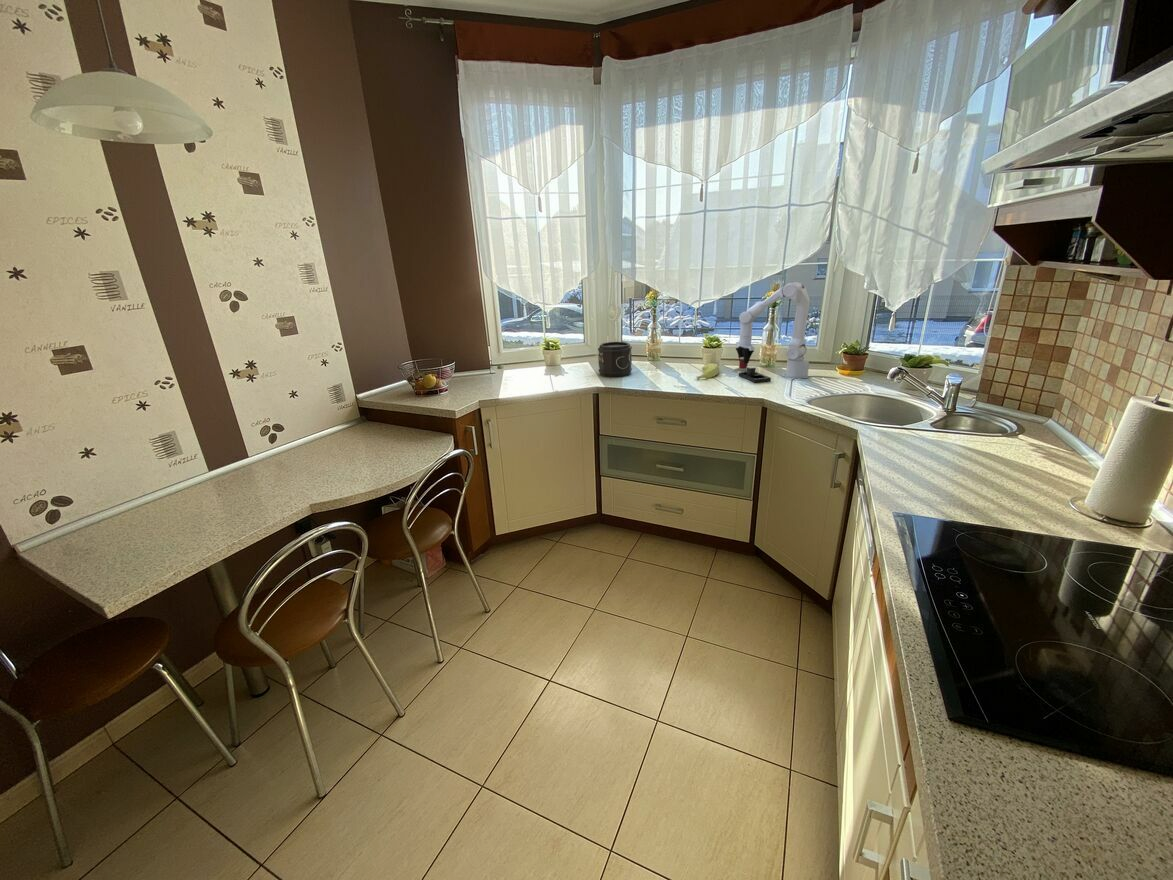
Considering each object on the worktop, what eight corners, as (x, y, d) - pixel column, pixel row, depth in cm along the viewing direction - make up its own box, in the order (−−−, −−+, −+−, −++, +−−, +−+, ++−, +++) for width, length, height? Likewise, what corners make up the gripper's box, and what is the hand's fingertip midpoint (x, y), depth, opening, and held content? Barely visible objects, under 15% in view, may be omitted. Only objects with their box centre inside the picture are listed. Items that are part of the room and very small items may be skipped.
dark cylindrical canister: (638, 371, 257) (638, 342, 251) (622, 379, 243) (622, 348, 237) (609, 368, 266) (608, 340, 260) (592, 375, 252) (591, 346, 246)
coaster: (746, 368, 252) (746, 367, 252) (754, 371, 244) (754, 370, 244) (731, 369, 250) (731, 368, 250) (739, 373, 243) (739, 372, 242)
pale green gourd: (725, 359, 241) (705, 371, 229) (728, 369, 243) (708, 382, 230) (702, 362, 251) (681, 375, 239) (705, 372, 253) (684, 385, 240)
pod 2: (752, 375, 235) (753, 365, 233) (757, 377, 231) (757, 367, 229) (744, 376, 234) (744, 366, 232) (748, 378, 230) (749, 368, 228)
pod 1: (744, 366, 249) (745, 356, 247) (749, 368, 245) (750, 358, 243) (737, 367, 248) (737, 357, 246) (741, 369, 244) (742, 359, 242)
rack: (738, 377, 236) (738, 372, 235) (753, 375, 237) (754, 371, 236) (754, 384, 222) (754, 379, 221) (770, 382, 223) (771, 377, 222)
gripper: (731, 334, 247) (729, 360, 251) (745, 338, 233) (743, 365, 238) (744, 333, 248) (742, 359, 253) (758, 337, 235) (756, 364, 239)
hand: (743, 362), depth 246 cm, fingers closed on pod 1, 4 cm apart
